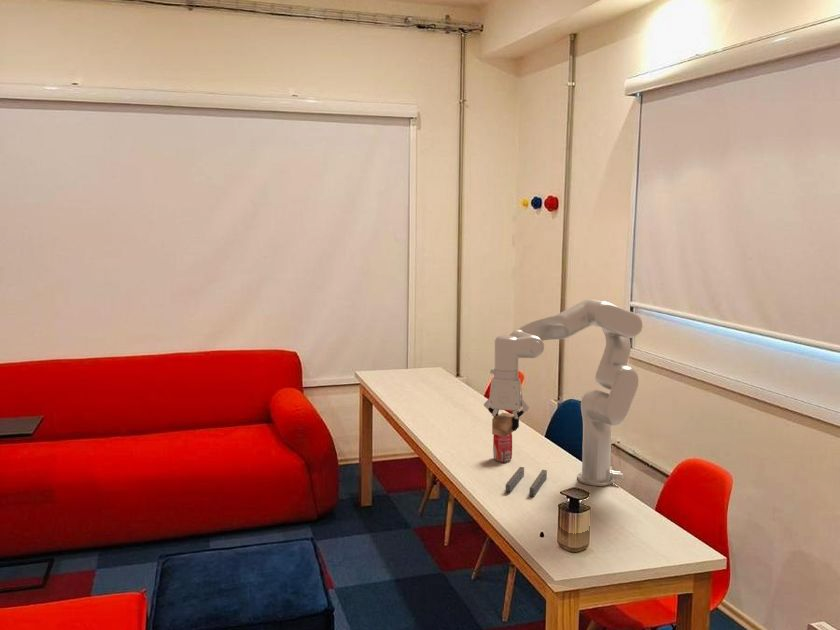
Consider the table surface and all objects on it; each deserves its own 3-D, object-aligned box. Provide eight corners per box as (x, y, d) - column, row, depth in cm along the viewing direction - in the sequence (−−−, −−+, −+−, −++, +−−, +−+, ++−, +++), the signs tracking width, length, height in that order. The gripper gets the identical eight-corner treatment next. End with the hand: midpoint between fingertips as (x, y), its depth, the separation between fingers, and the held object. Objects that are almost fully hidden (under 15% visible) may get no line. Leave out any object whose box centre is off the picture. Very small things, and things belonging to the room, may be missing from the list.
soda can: (500, 455, 287) (500, 425, 285) (515, 459, 282) (516, 428, 280) (489, 460, 281) (489, 429, 279) (505, 464, 277) (505, 433, 275)
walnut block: (516, 429, 244) (516, 414, 243) (506, 436, 237) (506, 420, 237) (502, 427, 247) (502, 412, 246) (492, 433, 240) (492, 418, 239)
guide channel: (546, 478, 262) (546, 470, 262) (533, 497, 246) (534, 488, 245) (519, 474, 266) (520, 466, 266) (505, 493, 250) (505, 484, 249)
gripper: (477, 374, 240) (477, 429, 243) (529, 379, 234) (529, 435, 236) (484, 369, 247) (484, 422, 250) (535, 373, 240) (534, 428, 243)
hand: (506, 428), depth 243 cm, fingers closed on walnut block, 5 cm apart
